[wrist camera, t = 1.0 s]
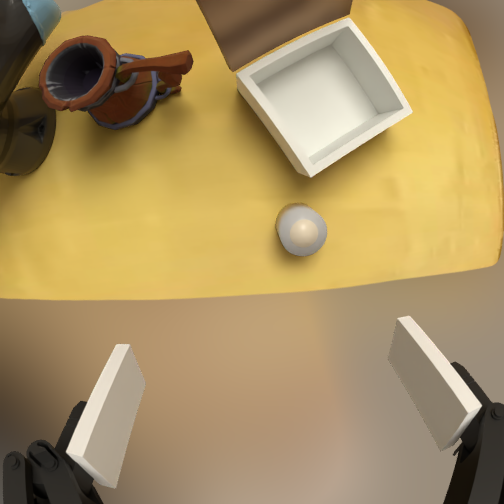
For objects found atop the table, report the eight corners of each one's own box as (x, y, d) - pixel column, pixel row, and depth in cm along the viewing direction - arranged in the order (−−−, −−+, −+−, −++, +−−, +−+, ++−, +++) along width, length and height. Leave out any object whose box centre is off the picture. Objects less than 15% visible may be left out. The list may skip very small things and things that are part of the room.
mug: (214, 54, 31) (199, 5, 17) (203, 132, 35) (178, 120, 21) (97, 60, 30) (41, 32, 16) (86, 132, 34) (22, 130, 20)
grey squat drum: (267, 218, 40) (270, 228, 35) (303, 194, 38) (311, 200, 34) (290, 251, 41) (296, 265, 36) (324, 228, 40) (335, 239, 35)
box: (237, 89, 33) (236, 73, 26) (330, 38, 31) (349, 17, 23) (297, 172, 37) (310, 177, 30) (384, 117, 35) (413, 112, 27)
